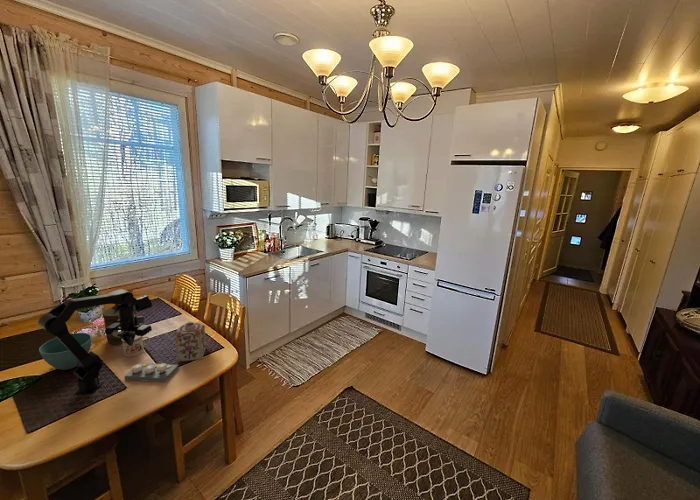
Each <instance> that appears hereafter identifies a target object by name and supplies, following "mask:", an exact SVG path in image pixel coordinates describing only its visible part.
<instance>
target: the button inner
mask: <svg viewBox="0 0 700 500" xmlns="http://www.w3.org/2000/svg"><path fill="white" fill-rule="evenodd" d="M131 370H132V372H133V373H139V372H140V371H142V365H141V364H139V363H138V364H135V365H133V366H132V367H131Z"/></svg>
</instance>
